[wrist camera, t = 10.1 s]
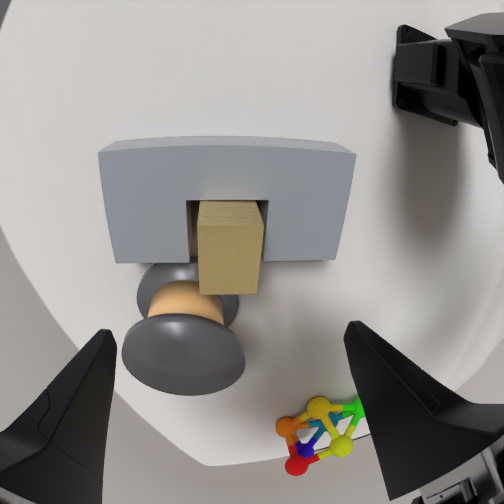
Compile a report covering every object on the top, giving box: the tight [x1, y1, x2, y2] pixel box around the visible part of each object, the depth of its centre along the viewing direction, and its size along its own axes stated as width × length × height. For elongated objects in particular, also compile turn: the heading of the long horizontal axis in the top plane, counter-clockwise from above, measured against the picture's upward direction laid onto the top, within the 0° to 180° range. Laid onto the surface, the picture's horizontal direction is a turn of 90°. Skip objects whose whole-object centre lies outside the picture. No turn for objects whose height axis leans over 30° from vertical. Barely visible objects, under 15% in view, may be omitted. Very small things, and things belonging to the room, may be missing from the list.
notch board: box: [98, 136, 356, 263], centre depth 17 cm, size 14×7×3 cm, turn 87°
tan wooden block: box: [197, 200, 264, 295], centre depth 16 cm, size 3×4×6 cm
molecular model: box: [276, 397, 365, 476], centre depth 33 cm, size 11×10×15 cm
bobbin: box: [122, 257, 245, 396], centre depth 20 cm, size 8×8×7 cm
